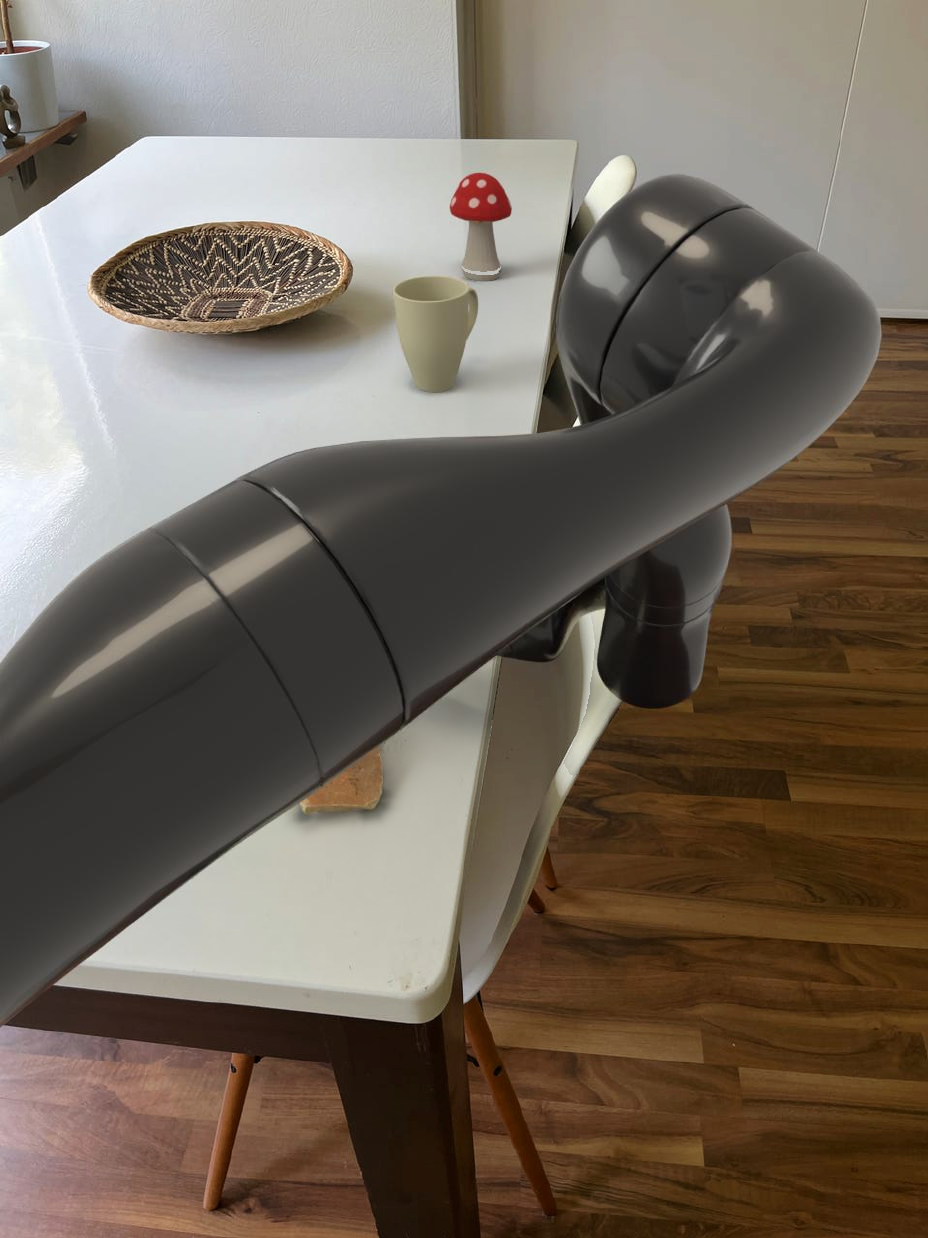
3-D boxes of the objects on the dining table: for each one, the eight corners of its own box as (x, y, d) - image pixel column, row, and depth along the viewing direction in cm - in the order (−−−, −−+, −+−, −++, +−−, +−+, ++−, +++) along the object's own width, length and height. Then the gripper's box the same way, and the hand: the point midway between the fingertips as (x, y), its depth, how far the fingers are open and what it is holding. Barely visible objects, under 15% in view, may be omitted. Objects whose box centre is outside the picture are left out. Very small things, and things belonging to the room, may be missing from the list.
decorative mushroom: (523, 274, 155) (524, 172, 146) (487, 289, 150) (486, 184, 141) (475, 261, 160) (474, 162, 151) (439, 275, 155) (435, 173, 146)
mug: (478, 399, 119) (476, 301, 112) (396, 399, 120) (389, 302, 112) (479, 362, 128) (477, 269, 121) (402, 363, 128) (397, 270, 121)
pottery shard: (252, 726, 75) (247, 701, 73) (373, 707, 76) (370, 682, 75) (256, 831, 67) (251, 805, 65) (392, 808, 68) (390, 782, 66)
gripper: (451, 501, 74) (254, 476, 78) (390, 612, 63) (164, 577, 67) (454, 582, 79) (268, 555, 83) (397, 698, 68) (186, 662, 72)
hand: (222, 565), depth 75 cm, fingers open, 8 cm apart
